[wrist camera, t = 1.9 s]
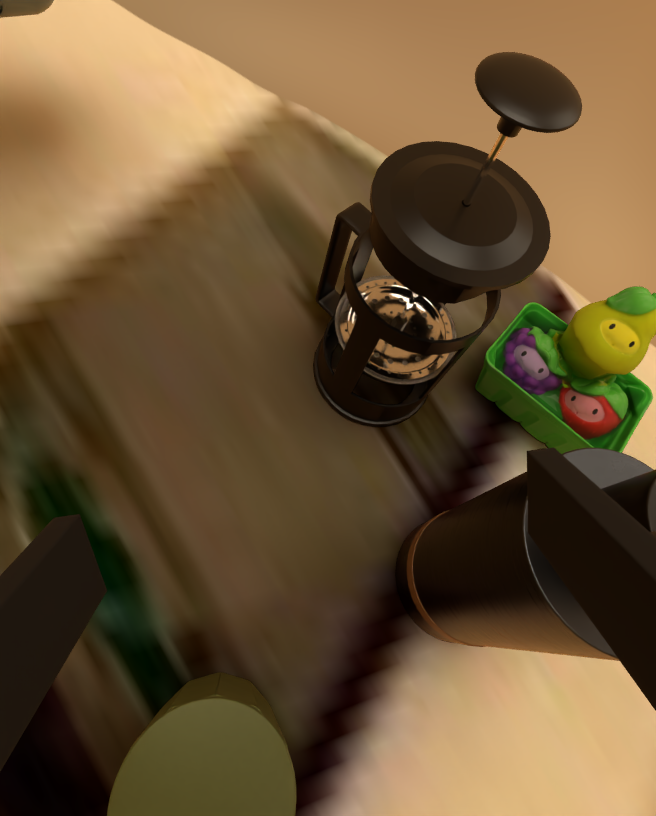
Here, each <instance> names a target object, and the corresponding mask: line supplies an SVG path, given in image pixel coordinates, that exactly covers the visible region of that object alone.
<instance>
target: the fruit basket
mask: <svg viewBox="0 0 656 816" xmlns="http://www.w3.org/2000/svg"><path fill="white" fill-rule="evenodd" d="M655 335H656V293H653V294H652V295H651V293H650V292H649V291H648V290H647V289H646V288H643V287H630V288H627V289H624V290H623V291H621V292H619V293H618V294H616V295H614V296H611V297H609V298H608V299H607V300H604V301H599V302H595V303H592V304H589V305H587V306H585V307H583V308H582V309H580V310H578V311H577V312H576V313H575V315H574V317H573V319H572V320H571V322H570V324H569V325H568V324H566V323H565V322H563V321H562V320H561V319H560V318H558V317H557V316H555V315H554V314H553V313H551V312H550V311H549V310H547V309H546V308H544V307H543V306H542V305H540V304H538V303H528V304H527V305H525V306H524V308H523V309H522V310H521V312H520V313H519V314H518V315H517V316H516V317H515V319H514V320H513V321H512V322H511V323H510V325H509V326H508V327H507V328H506V329H505V331H504V332H503V333H502V334H501V335H500V337H499V338H498V339H497V340H496V341H495V342H494V343H493V345H492V346H491V347H490V348H489V349H488V351H487V352H486V355H485V358H484V366H483V368H482V370H481V373H480V376H479V378H478V381H477V383H476V385H475V389H476V390H477V391H478V392H479V393H481V394H482V395H483V396H484V397H486V398H487V399H488V400H490V401H492V402H495V404H496V405H497V406H498V408H499V409H500V410H502V411H503V412H504V413H505V414H506V415H508V416H509V417H510V418H511V419H513V420H515V421H517V422H520V424H521V426H522V427H523V428H524V429H525V430H526V431H527V432H529V433H530V434H531V435H532V436H533V437H535V438H536V439H537V440H539V441H541V442H543V443H545V444H546V446H547V447H548V448H553V447H554V448H555V449H556V450H557V451H559V452H560V453H561V454H563V453H565V452H568V451H572V450H575V449H581V448H603V449H610V450H614V451H617V452H621V453H622V451H623V450H624V448H625V446H626V444H627V442H628V441H629V439H630V437H631V435H632V434H633V432H634V430H635V428H636V427H637V425H638V423H639V421H640V420H641V418H642V417H643V415H644V413H645V412H646V410H647V408H648V407H649V405H650V403H651V402H652V399H653V396H652V392H651V390H650V388H649V387H648V386H647V385H646V384H644V383H643V382H642V381H641V380H639V379H638V378H637V377H635V376H634V375H633V374H631V373H630V372H631V371H632V370H634V369H635V368H636V367H637V366H638V365H639V363H640V362H641V361H642V359H643V358H644V356H645V354H646V352H647V349H648V346H649V343H650V341H651V339H652V338H653V337H654V336H655Z"/></svg>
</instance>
